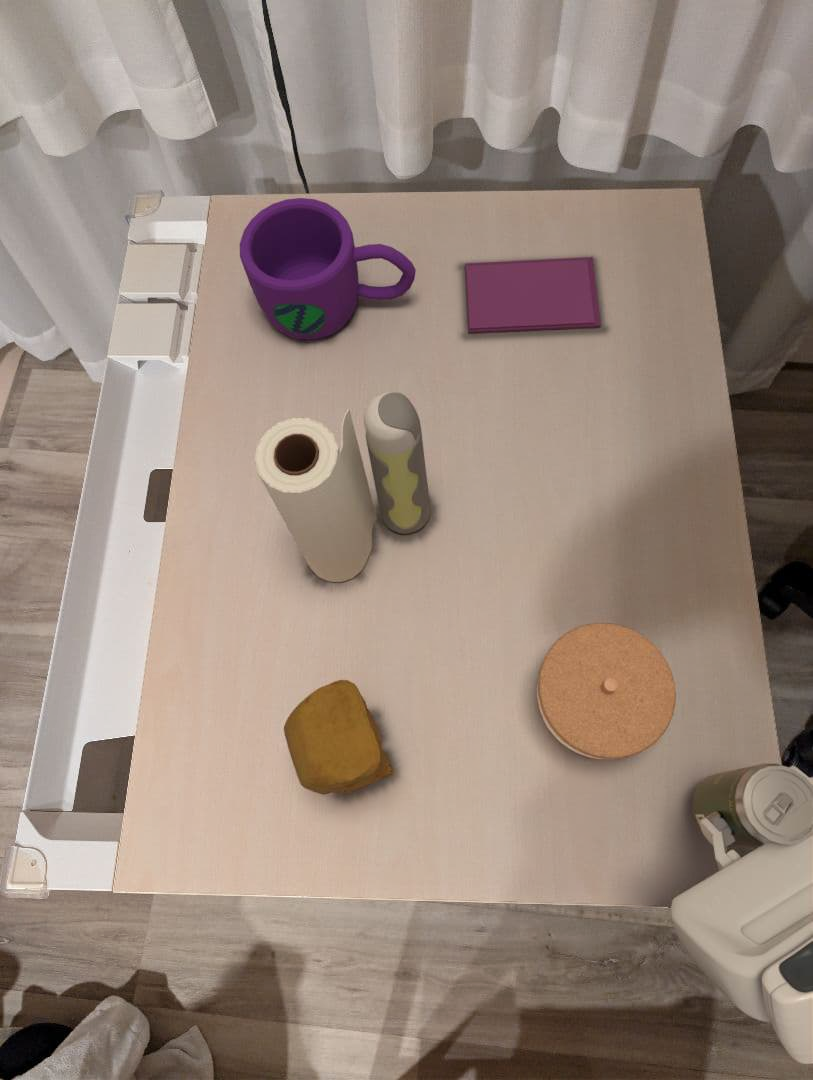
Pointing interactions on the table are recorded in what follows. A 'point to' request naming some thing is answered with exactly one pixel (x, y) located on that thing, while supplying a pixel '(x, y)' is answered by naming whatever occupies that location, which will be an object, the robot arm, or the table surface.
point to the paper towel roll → (320, 493)
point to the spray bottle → (397, 461)
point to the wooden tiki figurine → (335, 741)
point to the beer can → (758, 803)
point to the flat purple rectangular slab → (531, 295)
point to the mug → (311, 267)
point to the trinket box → (606, 691)
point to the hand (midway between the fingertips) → (746, 798)
